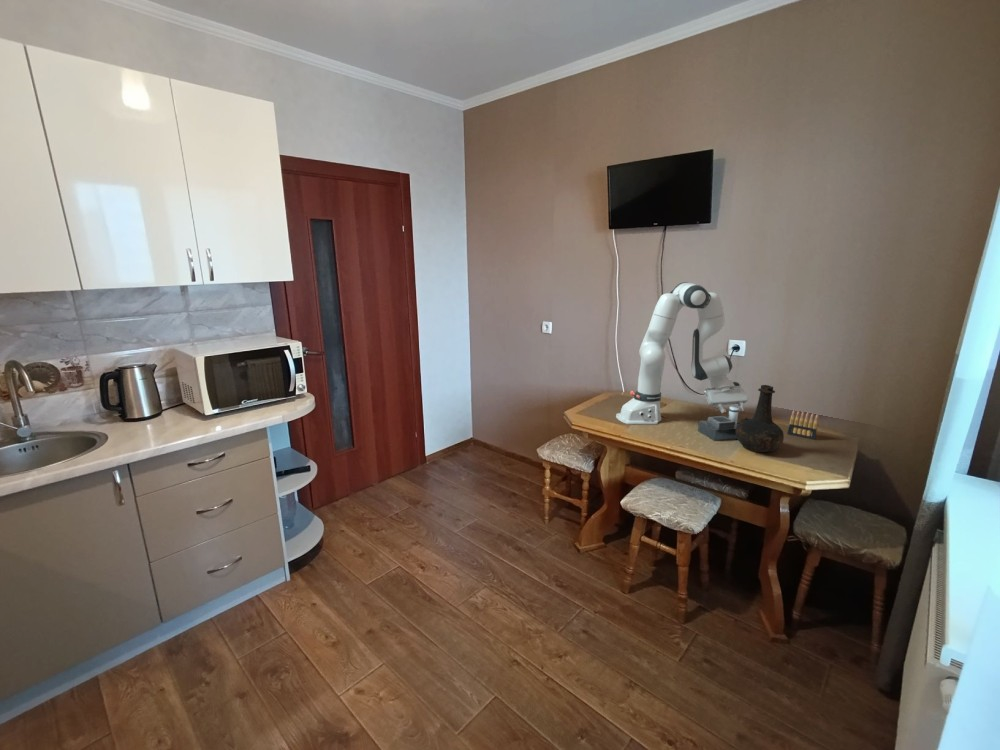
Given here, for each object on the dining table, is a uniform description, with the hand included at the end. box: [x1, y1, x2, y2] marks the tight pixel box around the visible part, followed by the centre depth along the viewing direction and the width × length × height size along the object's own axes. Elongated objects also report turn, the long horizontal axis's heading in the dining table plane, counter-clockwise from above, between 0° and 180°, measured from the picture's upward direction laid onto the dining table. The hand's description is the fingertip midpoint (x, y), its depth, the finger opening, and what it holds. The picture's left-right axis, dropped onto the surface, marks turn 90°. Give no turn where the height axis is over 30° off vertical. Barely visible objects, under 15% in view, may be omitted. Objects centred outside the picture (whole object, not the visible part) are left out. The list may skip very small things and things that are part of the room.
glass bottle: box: [735, 384, 785, 453], centre depth 184 cm, size 18×18×28 cm
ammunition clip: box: [786, 409, 819, 441], centre depth 198 cm, size 11×2×12 cm, turn 49°
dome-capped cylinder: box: [727, 405, 740, 425], centre depth 213 cm, size 4×4×9 cm
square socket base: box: [697, 415, 738, 442], centre depth 201 cm, size 14×12×8 cm
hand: (732, 411), depth 213 cm, fingers open, 8 cm apart
